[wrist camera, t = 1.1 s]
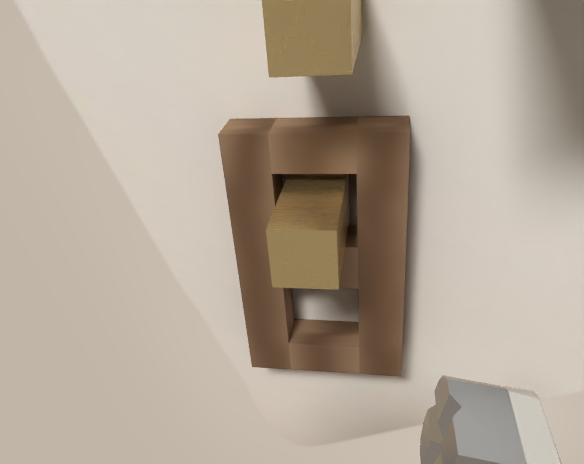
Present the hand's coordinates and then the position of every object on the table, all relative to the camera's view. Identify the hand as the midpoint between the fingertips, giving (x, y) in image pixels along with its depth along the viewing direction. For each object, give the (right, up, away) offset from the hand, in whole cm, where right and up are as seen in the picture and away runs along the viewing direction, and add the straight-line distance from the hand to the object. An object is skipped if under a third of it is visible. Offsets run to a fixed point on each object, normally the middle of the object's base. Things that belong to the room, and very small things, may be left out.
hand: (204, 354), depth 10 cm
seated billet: (+4, +5, +29) cm, 30 cm away
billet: (+4, +16, +23) cm, 28 cm away
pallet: (+4, +1, +32) cm, 32 cm away
